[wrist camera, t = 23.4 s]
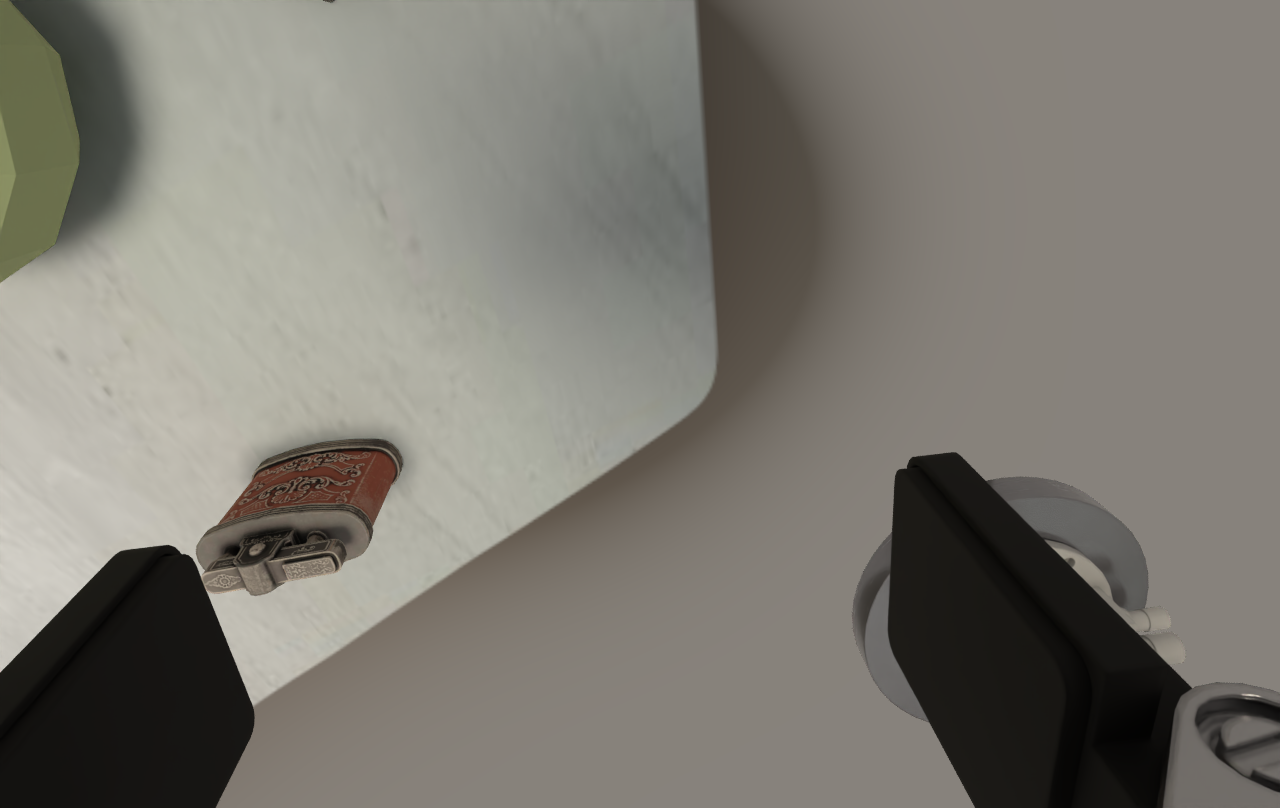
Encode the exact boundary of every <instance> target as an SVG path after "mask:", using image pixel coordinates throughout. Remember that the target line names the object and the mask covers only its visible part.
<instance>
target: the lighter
mask: <svg viewBox="0 0 1280 808" xmlns="http://www.w3.org/2000/svg"><path fill="white" fill-rule="evenodd" d="M402 465H403V463H402V457H401V455H400V453H399V451H398V450H397V449H396V447H395V446H394V445H393V444H391V443H389V442H387V441H384V440H379V439H366V440H342V441H333V442H323V443H318V444H314V445H310V446H305V447H301V448H297V449H293V450H290V451H288V452H285V453H282V454H280V455H277V456H274V457H271V458H269V459H267V460H265V461H263V462H262V463H261V464H260V466H259V467H258V468H257V469H256V471H255V472H254V474H253V475H252V482H251V483H250V484H249V485H248V487H247V488H246V489H245V491H244V492H243V493H242V494H241V496H240V497H239V498H238V499H237V501H236V502H235V503H234V505H233V506H232V507H231V508H230V510H229V511H228V512H227V513H226V515H225V516H224V517H223V518H222V520H221V521H220V522H219V524H218V525H216V526H214V527H212V528H211V529H209V530H208V531H207V532H206V533H205V534H204V536H203V537H202V538H201V539H200V541H199V543H198V544H197V547H196V555H197V559H198V562H199V563H200V565H201V566H202V567H203V569H204V570H205V572H204V573H203V575H202V577H201V579H202V581H203V584H204V586H205V589H206V590H207V591H208V592H210V593H213V594H219V593H225V592H231V591H236V590H242V589H246V591H249V593H250V594H251V595H254V596H257V595H262V594H266V593H269V592H271V591H273V590H274V589H276V588H277V587H278V586H280V585H282V584H284V583H285V582H287V581H293V580H298V579H304V578H310V577H315V576H321V575H326V574H332V573H336V572H338V571H339V570H340V569H341V567H342V565H343V563H344V562H345V561H348V560H351V559H353V558H356V557H358V556H360V555H362V554H363V553H364V552H365V550H366V549H367V548H368V546H369V543H370V541H371V539H372V534H373V525H374V522H375V520H376V518H377V516H378V513H379V511H380V509H381V507H382V504H383V502H384V500H385V498H386V495H387V493H388V491H389V489H390V486H391V485H393V484H394V483H395V482H396V480H397V479H398V477H399V475H400V472H401V469H402Z"/></svg>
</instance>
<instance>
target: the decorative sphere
mask: <svg viewBox="0 0 1280 808" xmlns="http://www.w3.org/2000/svg"><path fill="white" fill-rule="evenodd" d="M79 153H80V138H79V134H78V130H77V126H76V121H75V117H74V113H73V109H72V105H71V101H70V96H69V92H68V88H67V84H66V80H65V76H64V72H63V67H62V63H61V59H60V55H59V54H58V53H57V52H56V51H55V50H54V49H53V47H52V46H51V45H50V44H49V43H48V42H47V41H46V40H45V39H44V38H43V37H42V35H41V34H40V33H39V32H38V31H37V30H36V29H35V28H34V27H33V26H32V25H31V23H30V22H29V21H28V20H27V19H26V18H25V17H24V16H23V15H22V14H21V13H20V11H19V10H18V9H17V8H16V7H15V6H14V5H13V4H12V3H11V2H10V1H9V0H0V282H2V281H3V280H5V279H6V278H8V277H9V276H10V275H12V274H13V273H15V272H16V271H18V270H19V269H20V268H22V267H23V266H25V265H26V264H28V263H29V262H31V261H32V260H33V259H35V258H36V257H38V256H39V255H41V254H42V253H43V252H45V251H46V250H48V249H49V248H51V247H52V246H54V245H55V243H56V240H57V236H58V233H59V230H60V226H61V223H62V220H63V216H64V213H65V209H66V206H67V203H68V199H69V196H70V193H71V189H72V186H73V183H74V179H75V176H76V173H77V169H78V166H79Z"/></svg>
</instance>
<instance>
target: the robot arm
mask: <svg viewBox="0 0 1280 808" xmlns="http://www.w3.org/2000/svg"><path fill="white" fill-rule="evenodd" d="M893 505H894V506H893V526H892V545H891V566H890V586H889V607H888V638H889V643H890V647H891V650H892V653H893V655H894V657H895V659H896V661H897V663H898V665H899V667H900V668H901V670H902V672H903V674H904V676H905V678H906V680H907V682H908V683H909V685H910V687H911V689H912V691H913V693H914V695H915V696H916V698H917V700H918V702H919V704H920V706H921V708H922V710H923V711H924V713H925V715H926V717H927V719H928V721H929V723H930V724H931V726H932V728H933V730H934V732H935V734H936V735H937V737H938V739H939V741H940V743H941V745H942V747H943V748H944V751H945V752H946V754H947V756H948V758H949V760H950V762H951V764H952V765H953V767H954V769H955V771H956V773H957V775H958V777H959V778H960V780H961V782H962V784H963V786H964V788H965V790H966V791H967V793H968V795H969V797H970V799H971V801H972V803H973V805H974V806H975V808H1280V693H1279V692H1276V691H1274V690H1270V689H1265V688H1261V687H1257V686H1251V685H1247V684H1243V683H1220V682H1216V683H1211V684H1206V685H1201V686H1196V687H1194V688H1193V689H1192V688H1191V687H1190V686H1189V685H1188V684H1187V683H1186V682H1185V681H1184V680H1183V679H1182V678H1181V677H1180V676H1179V675H1178V674H1177V673H1176V672H1175V671H1174V670H1173V669H1172V667H1170V665H1175V664H1180V663H1183V662H1184V660H1185V658H1186V653H1185V648H1184V645H1183V643H1182V641H1181V640H1180V639H1179V637H1178V636H1177V635H1176V634H1174V633H1173V632H1162V633H1154V634H1147V635H1139V634H1138V633H1137V632H1140V631H1144V632H1148V631H1156V630H1164V629H1169V628H1170V626H1171V619H1170V616H1169V614H1168V612H1167V611H1166V609H1165V608H1163V607H1161V606H1158V607H1150V608H1143V609H1137V610H1136V611H1127V610H1126V609H1124V608H1121V607H1119V606H1118V605H1117V604H1116V603H1115V602H1114V601H1113V598H1112V594H1111V589H1110V585H1109V584H1108V582H1107V580H1106V578H1105V576H1104V574H1103V573H1102V572H1101V571H1100V570H1099V569H1098V568H1097V567H1096V566H1095V565H1094V563H1093V562H1092V561H1091V560H1090V559H1088V558H1087V557H1086V556H1085V555H1083V554H1082V553H1081V552H1079V551H1078V550H1076V549H1074V548H1072V547H1070V546H1068V545H1065V544H1063V543H1059V542H1054V541H1050V540H1044V539H1043V538H1042V537H1041V536H1040V535H1039V534H1038V533H1037V532H1036V531H1035V530H1034V529H1033V528H1032V527H1031V526H1030V525H1029V524H1028V523H1027V522H1026V521H1025V520H1024V519H1023V518H1022V517H1021V516H1020V515H1019V514H1018V513H1017V512H1016V511H1015V510H1014V509H1013V508H1012V507H1011V506H1010V505H1009V504H1008V503H1007V502H1006V501H1005V500H1004V499H1003V498H1002V497H1001V496H1000V495H999V494H998V493H997V492H996V491H995V490H994V489H993V488H992V487H991V486H990V485H989V484H988V483H987V482H986V481H985V480H984V479H983V478H982V477H981V476H980V475H979V474H978V473H977V472H976V471H975V470H974V469H973V468H972V467H971V466H970V465H969V464H968V463H967V462H966V461H965V460H964V459H963V458H962V457H961V456H960V455H959V454H957V453H954V452H951V453H943V454H935V455H926V456H917V457H912V458H911V459H910V460H909V463H908V465H907V469H899V470H898V471H897V473H896V475H895V485H894V504H893ZM253 728H254V709H253V706H252V703H251V700H250V698H249V695H248V693H247V690H246V688H245V685H244V683H243V681H242V678H241V676H240V673H239V671H238V668H237V666H236V663H235V661H234V658H233V656H232V653H231V651H230V648H229V646H228V643H227V641H226V638H225V636H224V633H223V631H222V628H221V626H220V623H219V621H218V618H217V616H216V614H215V611H214V609H213V606H212V604H211V601H210V599H209V596H208V594H207V591H206V589H205V586H204V584H203V581H202V579H201V576H200V574H199V571H198V569H197V566H196V564H195V562H194V560H193V559H192V558H191V557H190V556H189V555H186V554H181V553H180V551H178V550H177V549H176V548H175V547H173V546H170V545H164V546H155V547H147V548H138V549H130V550H124V551H120V552H119V553H117V554H116V555H114V556H113V557H112V558H111V559H110V560H109V561H108V562H107V564H106V565H105V566H104V567H103V568H102V569H101V570H100V571H99V572H98V573H97V574H96V575H95V576H94V577H93V578H92V579H91V580H90V581H89V582H88V583H87V584H86V585H85V586H84V587H83V588H82V589H81V590H80V591H79V592H78V593H77V594H76V595H75V596H74V597H73V598H72V599H71V601H70V602H69V603H68V604H67V605H66V606H65V607H64V608H63V609H62V610H61V611H60V612H59V613H58V614H57V615H56V616H55V617H54V618H53V619H52V620H51V621H50V622H49V623H48V624H47V625H46V626H45V627H44V628H43V629H42V630H41V631H40V632H39V633H38V634H37V635H36V636H35V638H34V639H33V640H32V641H31V642H30V643H29V644H28V645H27V646H26V647H25V648H24V649H23V650H22V651H21V652H20V653H19V654H18V655H17V656H16V657H15V658H14V659H13V660H12V661H11V662H10V663H9V664H8V665H7V666H6V667H5V668H4V669H3V670H2V671H1V672H0V808H216V806H217V804H218V802H219V799H220V798H221V796H222V793H223V792H224V790H225V788H226V786H227V784H228V782H229V779H230V778H231V776H232V774H233V772H234V770H235V768H236V766H237V764H238V761H239V760H240V758H241V756H242V753H243V752H244V750H245V748H246V746H247V744H248V742H249V740H250V738H251V735H252V732H253Z"/></svg>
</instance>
